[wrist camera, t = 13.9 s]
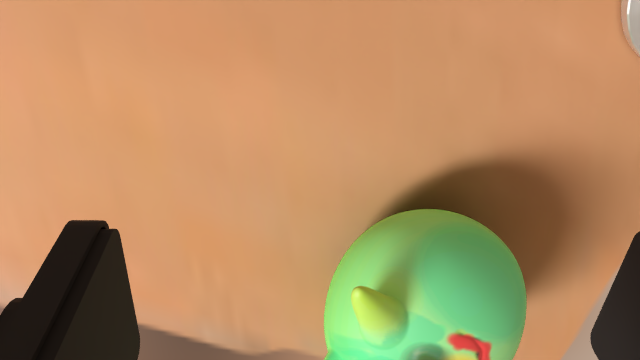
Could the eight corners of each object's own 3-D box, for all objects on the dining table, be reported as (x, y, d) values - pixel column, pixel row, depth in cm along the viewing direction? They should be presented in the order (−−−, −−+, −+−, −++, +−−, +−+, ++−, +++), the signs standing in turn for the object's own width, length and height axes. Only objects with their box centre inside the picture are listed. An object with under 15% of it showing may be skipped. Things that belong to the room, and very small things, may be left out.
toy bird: (449, 333, 55) (496, 474, 43) (290, 312, 52) (291, 457, 40) (522, 192, 46) (609, 319, 34) (335, 158, 43) (354, 283, 31)
